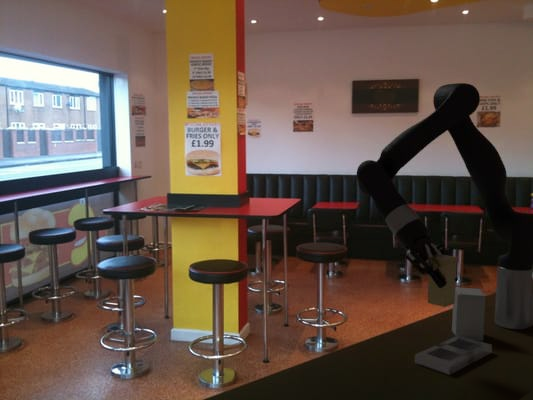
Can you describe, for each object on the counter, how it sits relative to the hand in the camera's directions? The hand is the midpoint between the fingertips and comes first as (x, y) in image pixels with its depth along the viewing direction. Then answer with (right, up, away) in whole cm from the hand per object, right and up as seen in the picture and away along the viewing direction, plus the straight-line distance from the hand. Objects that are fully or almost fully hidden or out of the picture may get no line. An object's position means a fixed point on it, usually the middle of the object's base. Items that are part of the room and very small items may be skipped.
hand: (449, 283), depth 129 cm
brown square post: (-1, -5, +2) cm, 5 cm away
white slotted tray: (+3, -20, +5) cm, 20 cm away
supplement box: (+12, -18, +22) cm, 31 cm away
